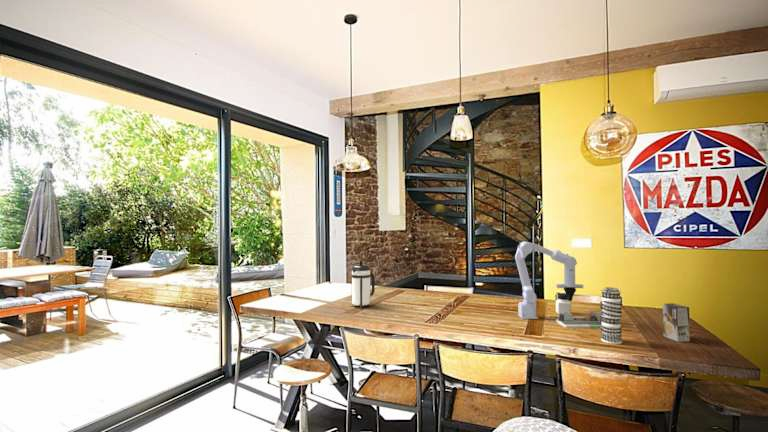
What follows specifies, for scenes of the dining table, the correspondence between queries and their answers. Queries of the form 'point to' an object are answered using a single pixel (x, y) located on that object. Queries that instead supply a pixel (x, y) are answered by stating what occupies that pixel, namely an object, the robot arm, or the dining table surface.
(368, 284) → the coffee press
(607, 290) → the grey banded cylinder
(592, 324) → the scale board
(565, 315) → the plunger
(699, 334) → the dining table surface
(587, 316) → the marker
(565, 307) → the medicine bottle
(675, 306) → the coffee box
